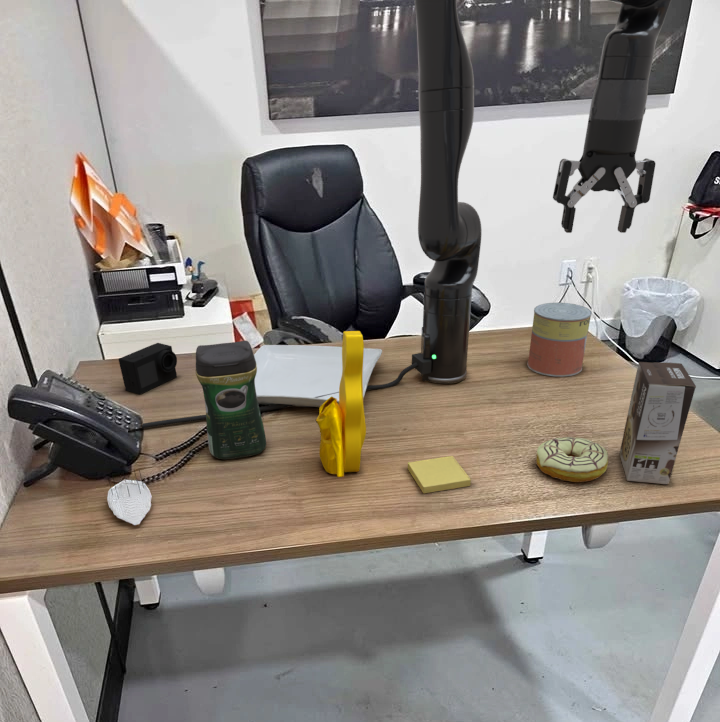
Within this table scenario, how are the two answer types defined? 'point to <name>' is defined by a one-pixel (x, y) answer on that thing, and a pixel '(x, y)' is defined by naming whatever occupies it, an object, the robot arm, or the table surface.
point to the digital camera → (148, 368)
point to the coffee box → (655, 421)
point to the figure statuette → (344, 413)
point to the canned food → (558, 339)
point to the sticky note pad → (438, 474)
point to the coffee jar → (230, 399)
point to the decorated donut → (572, 459)
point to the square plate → (303, 373)
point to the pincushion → (130, 500)
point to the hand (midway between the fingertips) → (594, 231)
